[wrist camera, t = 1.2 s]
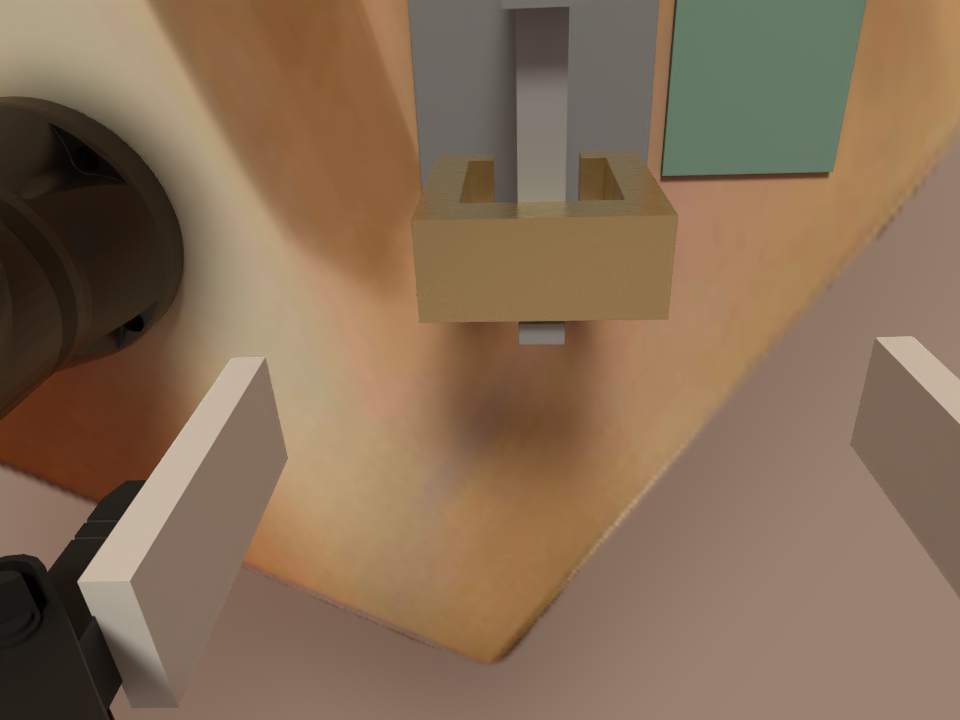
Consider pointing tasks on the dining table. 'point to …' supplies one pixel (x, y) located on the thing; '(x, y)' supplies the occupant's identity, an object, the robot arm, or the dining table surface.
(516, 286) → the c link
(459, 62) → the stand
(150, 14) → the dining table surface
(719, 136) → the mat
